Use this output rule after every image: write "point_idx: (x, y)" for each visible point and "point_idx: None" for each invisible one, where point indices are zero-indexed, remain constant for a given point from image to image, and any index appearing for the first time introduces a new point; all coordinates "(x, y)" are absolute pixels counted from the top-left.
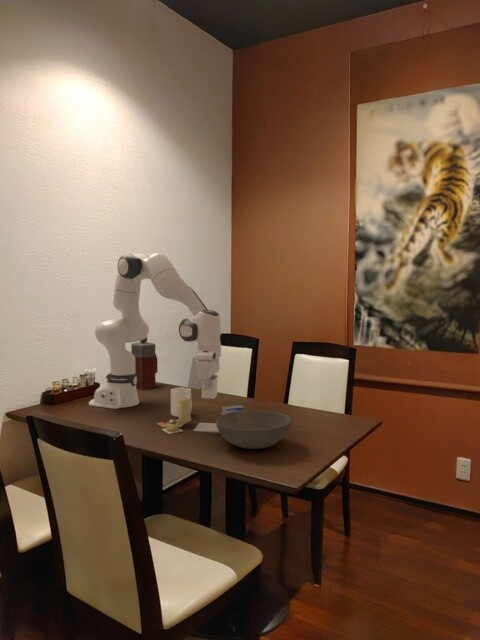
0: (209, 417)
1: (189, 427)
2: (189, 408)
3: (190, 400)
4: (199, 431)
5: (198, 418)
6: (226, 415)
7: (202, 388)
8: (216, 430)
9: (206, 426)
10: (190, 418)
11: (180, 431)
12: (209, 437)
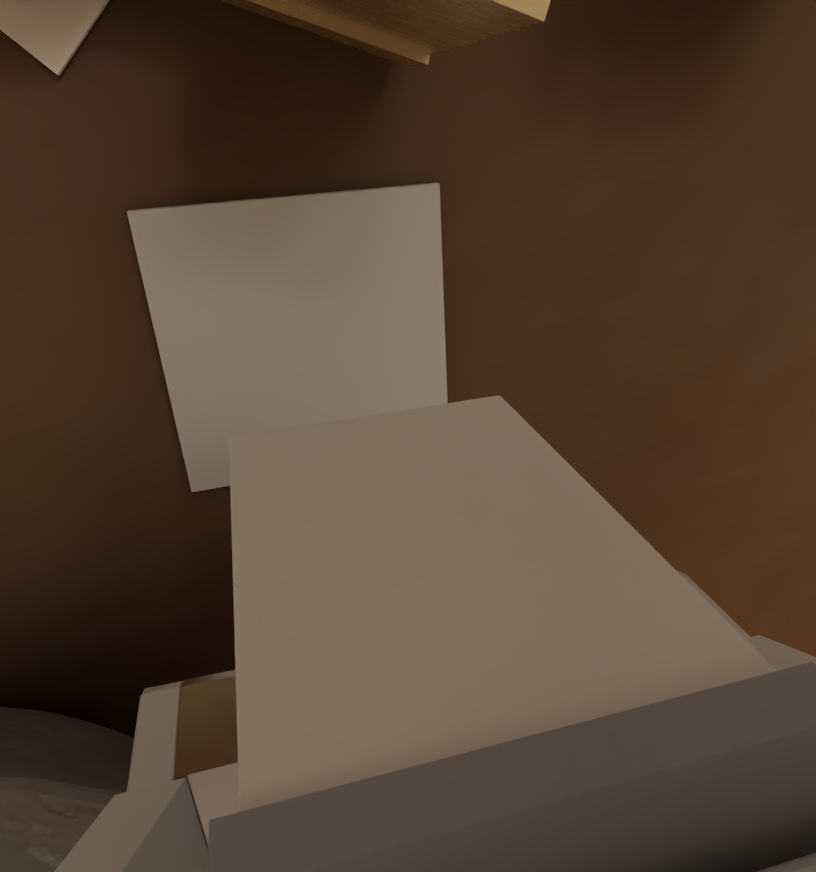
0: (673, 207)
1: (251, 105)
2: (439, 30)
3: (519, 24)
4: (147, 288)
5: (624, 89)
6: (22, 787)
7: (234, 585)
8: (225, 457)
9: (320, 311)
10: (405, 61)
11: (22, 44)
12: (5, 461)
